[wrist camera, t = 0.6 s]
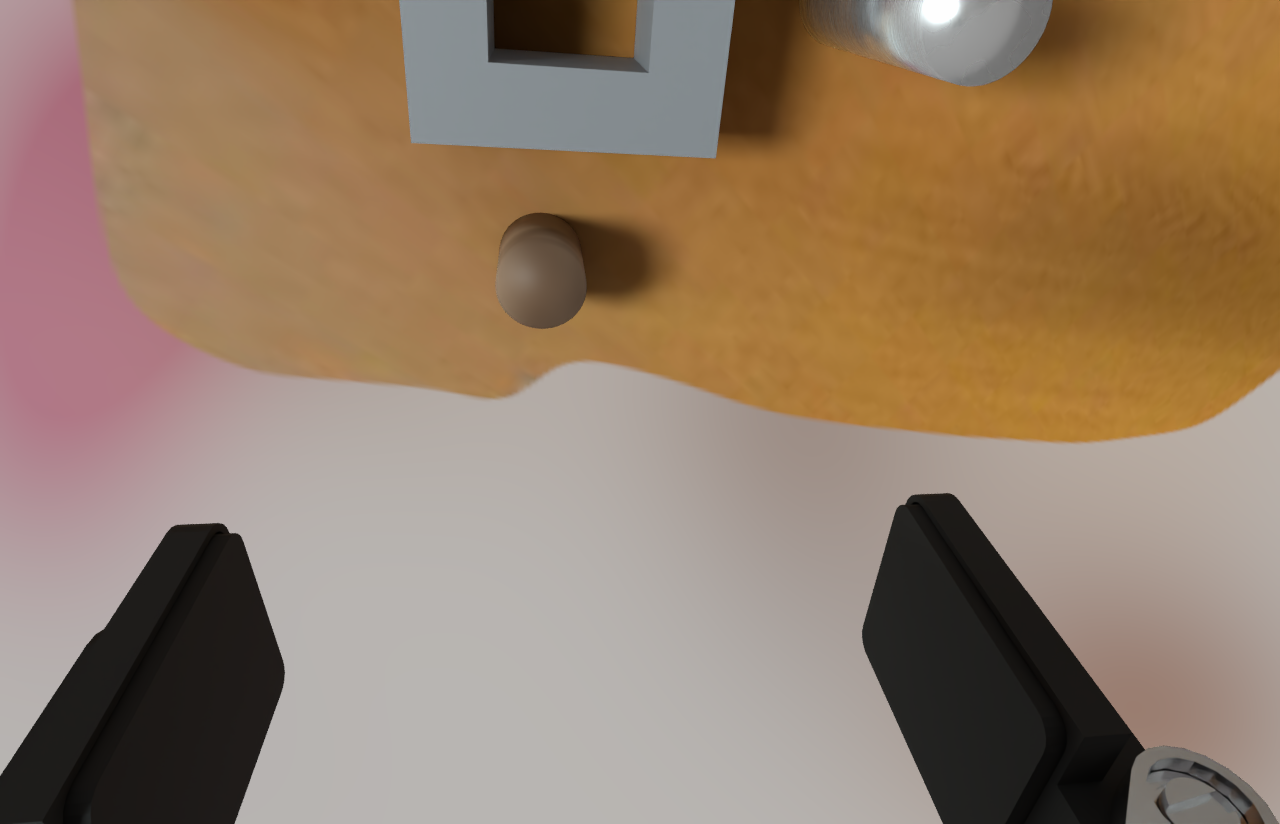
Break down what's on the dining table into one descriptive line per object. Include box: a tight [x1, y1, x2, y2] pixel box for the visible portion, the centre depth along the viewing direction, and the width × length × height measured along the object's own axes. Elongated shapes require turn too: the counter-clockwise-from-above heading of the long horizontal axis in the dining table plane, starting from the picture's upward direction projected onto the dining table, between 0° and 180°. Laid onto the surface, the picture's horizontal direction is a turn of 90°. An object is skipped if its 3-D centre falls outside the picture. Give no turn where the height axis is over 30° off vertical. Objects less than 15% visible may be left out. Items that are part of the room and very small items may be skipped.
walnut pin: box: [496, 213, 587, 329], centre depth 34 cm, size 4×4×4 cm
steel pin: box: [799, 0, 1053, 86], centre depth 27 cm, size 4×4×12 cm
